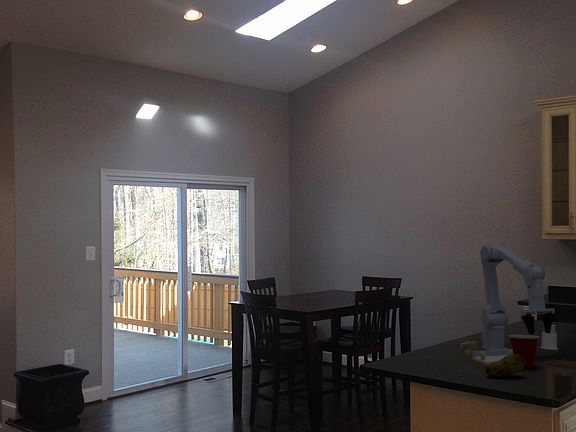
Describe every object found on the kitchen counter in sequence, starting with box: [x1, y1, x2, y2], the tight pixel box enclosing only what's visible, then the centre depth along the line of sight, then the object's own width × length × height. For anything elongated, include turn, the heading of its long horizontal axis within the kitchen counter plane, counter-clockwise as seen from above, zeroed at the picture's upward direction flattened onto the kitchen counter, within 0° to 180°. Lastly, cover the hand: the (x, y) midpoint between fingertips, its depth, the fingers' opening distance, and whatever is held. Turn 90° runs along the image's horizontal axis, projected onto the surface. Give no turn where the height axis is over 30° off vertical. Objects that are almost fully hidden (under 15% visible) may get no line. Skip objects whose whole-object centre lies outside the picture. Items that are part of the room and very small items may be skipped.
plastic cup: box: [507, 334, 541, 371], centre depth 232 cm, size 11×11×12 cm
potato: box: [485, 354, 526, 378], centre depth 218 cm, size 8×13×8 cm, turn 68°
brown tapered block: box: [459, 340, 479, 359], centre depth 255 cm, size 4×8×6 cm, turn 137°
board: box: [471, 348, 513, 366], centre depth 246 cm, size 11×18×4 cm, turn 102°
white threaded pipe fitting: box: [540, 324, 559, 350], centre depth 268 cm, size 8×7×10 cm
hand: (539, 333), depth 243 cm, fingers open, 7 cm apart
